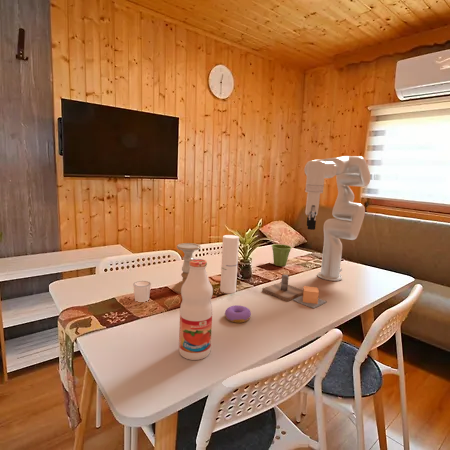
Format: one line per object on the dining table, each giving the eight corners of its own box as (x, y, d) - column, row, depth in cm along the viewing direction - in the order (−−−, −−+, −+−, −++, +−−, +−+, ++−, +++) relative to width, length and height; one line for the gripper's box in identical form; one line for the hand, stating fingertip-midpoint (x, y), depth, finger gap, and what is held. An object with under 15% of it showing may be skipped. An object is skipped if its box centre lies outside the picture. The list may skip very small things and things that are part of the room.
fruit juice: (204, 341, 101) (207, 255, 96) (215, 357, 93) (219, 264, 88) (175, 346, 97) (177, 257, 93) (184, 363, 89) (187, 267, 84)
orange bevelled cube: (302, 296, 140) (303, 285, 140) (316, 298, 139) (317, 287, 138) (302, 302, 135) (304, 290, 134) (317, 304, 133) (318, 292, 133)
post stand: (280, 285, 155) (282, 268, 154) (305, 294, 145) (307, 276, 144) (262, 291, 146) (263, 274, 144) (287, 301, 136) (288, 283, 134)
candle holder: (206, 289, 144) (208, 246, 141) (185, 296, 135) (187, 250, 132) (188, 282, 153) (190, 241, 149) (167, 288, 144) (168, 244, 140)
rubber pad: (306, 295, 144) (306, 294, 144) (326, 302, 137) (326, 301, 137) (293, 300, 137) (293, 299, 137) (313, 308, 130) (313, 307, 130)
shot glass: (153, 298, 132) (154, 282, 131) (144, 304, 126) (144, 287, 124) (139, 295, 134) (139, 279, 133) (129, 301, 128) (129, 284, 127)
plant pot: (291, 268, 184) (293, 249, 182) (271, 267, 184) (272, 248, 182) (288, 262, 196) (289, 244, 194) (268, 261, 196) (270, 243, 194)
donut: (235, 309, 125) (237, 298, 124) (253, 321, 120) (256, 310, 118) (218, 317, 118) (221, 305, 116) (237, 330, 112) (240, 319, 111)
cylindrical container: (234, 294, 141) (237, 238, 137) (218, 292, 142) (221, 237, 138) (237, 288, 148) (240, 235, 143) (222, 286, 149) (224, 234, 145)
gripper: (304, 187, 149) (301, 224, 152) (306, 189, 133) (302, 230, 135) (321, 188, 148) (317, 225, 151) (325, 190, 131) (320, 231, 134)
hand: (310, 227), depth 143 cm, fingers open, 9 cm apart
